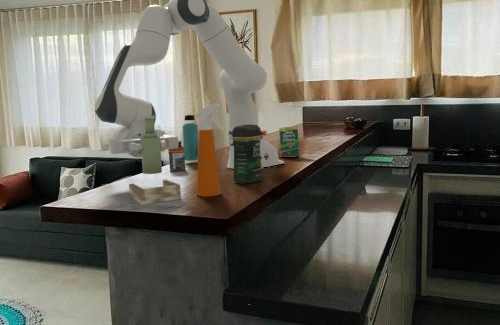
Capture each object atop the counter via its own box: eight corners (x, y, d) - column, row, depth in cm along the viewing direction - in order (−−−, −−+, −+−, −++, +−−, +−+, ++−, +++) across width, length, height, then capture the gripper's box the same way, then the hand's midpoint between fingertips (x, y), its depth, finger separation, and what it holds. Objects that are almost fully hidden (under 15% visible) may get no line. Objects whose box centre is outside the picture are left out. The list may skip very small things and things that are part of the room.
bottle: (158, 169, 144) (155, 114, 141) (164, 172, 139) (161, 115, 137) (140, 172, 141) (136, 115, 138) (146, 174, 136) (142, 116, 134)
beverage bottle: (197, 164, 202) (194, 115, 199) (182, 164, 203) (179, 115, 200) (202, 161, 208) (199, 114, 205) (187, 161, 209) (184, 114, 206)
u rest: (167, 192, 149) (166, 179, 148) (180, 198, 139) (180, 184, 139) (130, 197, 143) (128, 184, 143) (141, 204, 134) (140, 190, 133)
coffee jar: (251, 185, 155) (248, 126, 152) (230, 183, 159) (227, 125, 156) (266, 179, 163) (264, 123, 160) (246, 178, 167) (243, 123, 164)
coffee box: (280, 158, 209) (279, 127, 207) (280, 157, 212) (279, 126, 210) (299, 157, 208) (298, 126, 206) (298, 156, 211) (298, 126, 209)
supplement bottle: (169, 170, 190) (167, 140, 188) (184, 168, 191) (183, 139, 189) (170, 172, 184) (168, 142, 182) (186, 171, 185) (184, 141, 184)
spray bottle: (218, 199, 136) (213, 103, 132) (191, 195, 143) (186, 104, 139) (235, 194, 142) (231, 102, 138) (209, 190, 149) (204, 102, 145)
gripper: (101, 134, 145) (113, 137, 133) (168, 129, 154) (184, 132, 143) (103, 155, 146) (115, 161, 134) (169, 149, 155) (185, 154, 144)
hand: (151, 146), depth 138 cm, fingers closed on bottle, 5 cm apart
